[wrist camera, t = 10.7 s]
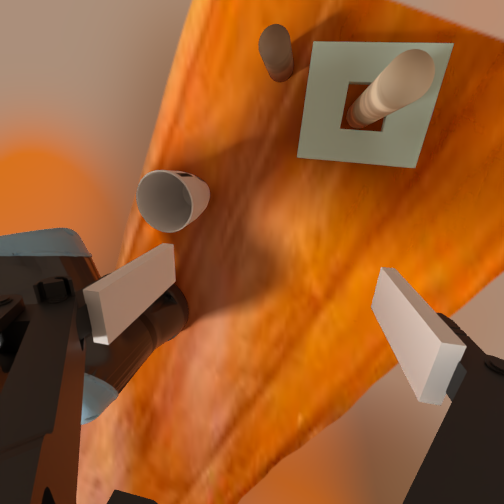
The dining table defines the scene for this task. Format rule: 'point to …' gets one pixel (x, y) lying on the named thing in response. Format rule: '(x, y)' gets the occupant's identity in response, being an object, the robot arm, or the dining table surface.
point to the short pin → (276, 52)
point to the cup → (171, 199)
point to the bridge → (334, 95)
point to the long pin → (393, 88)
